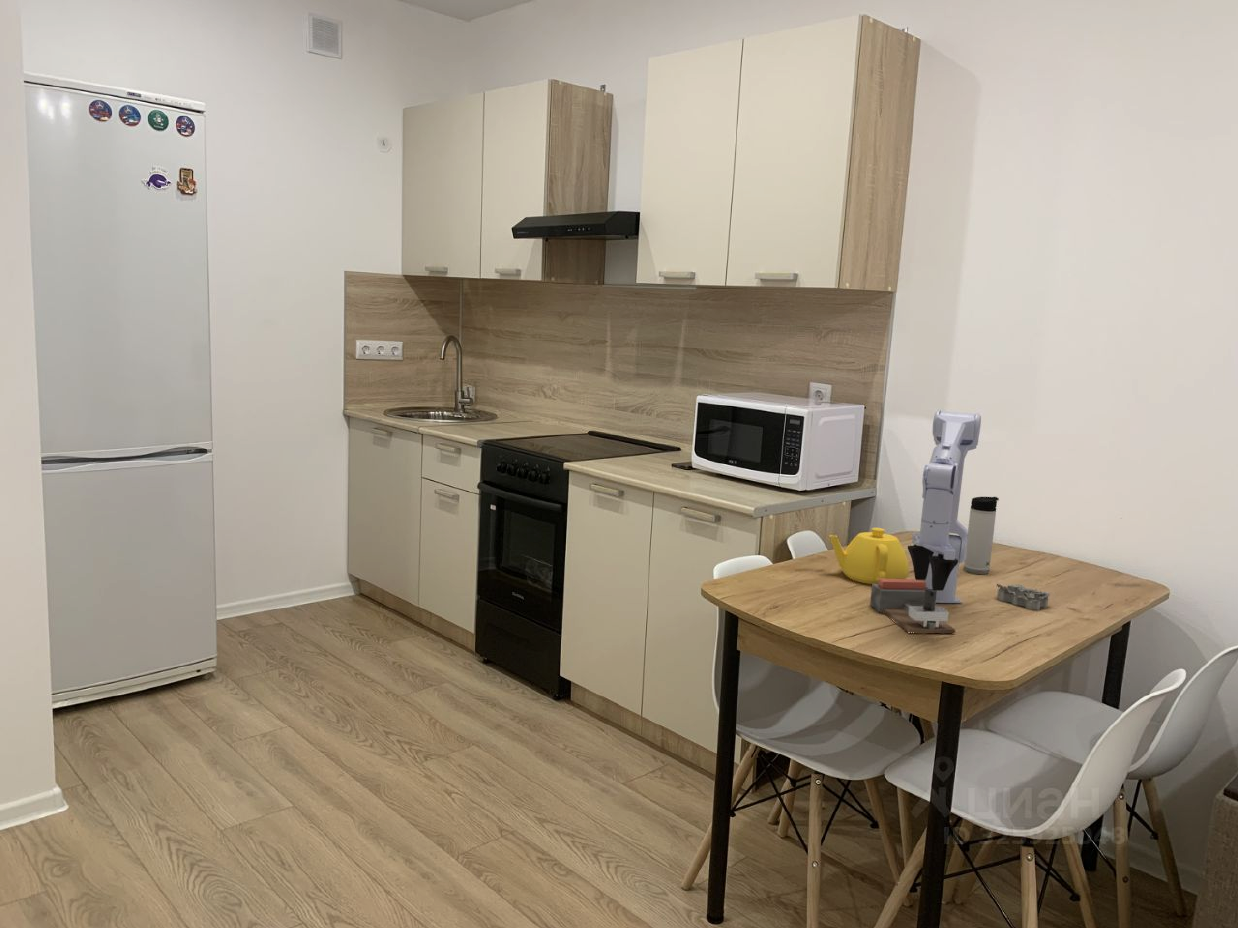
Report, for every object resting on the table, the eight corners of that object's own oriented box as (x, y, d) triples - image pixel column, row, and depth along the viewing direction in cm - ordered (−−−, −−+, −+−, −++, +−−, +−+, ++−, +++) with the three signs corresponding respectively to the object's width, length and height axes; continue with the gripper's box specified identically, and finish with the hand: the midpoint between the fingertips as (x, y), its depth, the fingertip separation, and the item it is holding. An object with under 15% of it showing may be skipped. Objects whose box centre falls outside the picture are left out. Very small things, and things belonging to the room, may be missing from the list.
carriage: (907, 621, 199) (911, 587, 198) (939, 621, 199) (943, 588, 198) (914, 626, 195) (918, 592, 194) (947, 627, 196) (950, 593, 195)
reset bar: (878, 585, 211) (878, 578, 211) (920, 585, 213) (921, 579, 212) (882, 588, 209) (882, 581, 209) (925, 589, 210) (926, 582, 210)
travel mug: (994, 575, 245) (1002, 499, 242) (968, 573, 245) (976, 498, 242) (985, 568, 251) (993, 495, 248) (960, 567, 251) (968, 493, 248)
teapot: (900, 571, 244) (905, 523, 242) (916, 592, 226) (921, 540, 224) (822, 565, 246) (826, 518, 244) (831, 586, 227) (835, 534, 225)
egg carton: (992, 599, 224) (994, 583, 223) (1011, 595, 228) (1013, 579, 227) (1033, 612, 215) (1035, 595, 214) (1052, 608, 219) (1054, 590, 218)
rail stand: (870, 605, 213) (872, 583, 212) (920, 605, 215) (923, 584, 214) (903, 633, 195) (906, 610, 194) (959, 634, 196) (961, 611, 195)
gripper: (901, 513, 201) (895, 575, 203) (934, 528, 187) (927, 594, 189) (932, 513, 203) (925, 575, 205) (967, 529, 188) (960, 594, 190)
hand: (928, 584), depth 197 cm, fingers open, 7 cm apart
